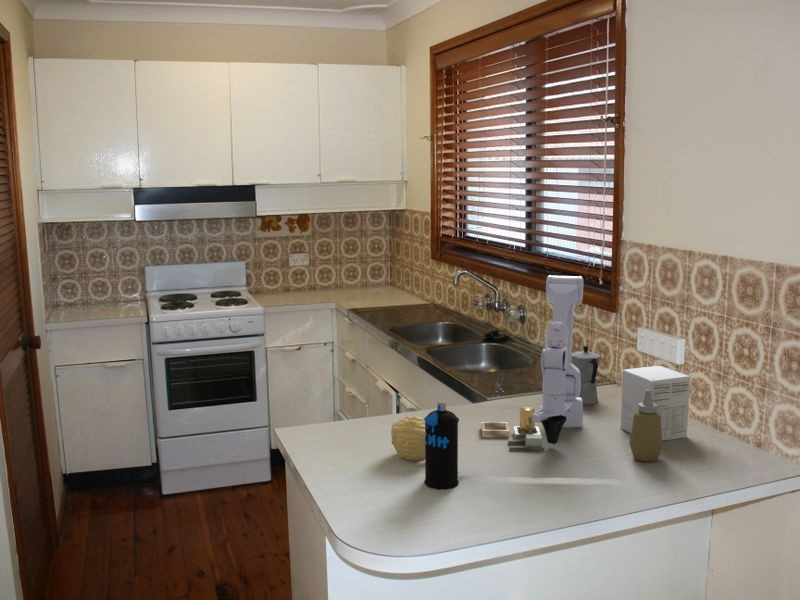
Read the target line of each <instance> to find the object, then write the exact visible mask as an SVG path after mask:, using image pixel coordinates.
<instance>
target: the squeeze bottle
mask: <svg viewBox="0 0 800 600" xmlns="http://www.w3.org/2000/svg"><path fill="white" fill-rule="evenodd" d="M629 446H630V449H631V453H632V457H633V459H635V460H637V461H638V462H643V461H644V462H645V463H654V462H657V460H658V458H659V456H660V454H661V452H662V449H663V441H662V430H661V416H660V414H659V413H658V412H657V405H656V404H654V403H653V400H652V394H651V391H650V390H646V393H645V396H644V400H643V402H641V403H639V404H638V411H636V412H635V413H634V418H633V424H632V431H631V433H630V438H629Z"/></svg>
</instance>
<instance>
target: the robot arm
mask: <svg viewBox="0 0 800 600" xmlns="http://www.w3.org/2000/svg"><path fill="white" fill-rule="evenodd" d="M545 281H546V283H545V284H546V285H545V295H546V297H547V300H548V301H549V303H550V304H552V322H551V323H550V324H548V326H547V328H546V329H547V330H546V337H545V344H544V348H542V350H541V355H540V366H541V376H542V393H541V394H542V397H541V398H542V400H541V403H542V404H541V405H540V406H539V408H538V409H539V410H538V411H537V412H536V411H535V414H533V422H535V423H537V424H539V423H541V425H542V426H543V428H544V433H545V436H546V441H547V443H548V444H551V445H556V444H558V441H559V437H560V434H561V432H562V428H563V429H564V428H583V422H584V421H583V420H584V405H583V401H582V398H581V397H578V396H579V395H580V388H581V378H580V370H579V369H578V368H577V367H576V366H574V365H573V364H572V357H571V354H572V353H573V352H572V350H573V347H572V346H573V329H574V328H573V326H574V311H575V309H576V306H580V305H582V302H583V299H584V298H583V297H584V278H583V276H581V275H579V276H573V275H571V276H570V275H552V274H549V275H548V276H547V277H546V280H545Z"/></svg>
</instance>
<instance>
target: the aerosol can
mask: <svg viewBox="0 0 800 600" xmlns="http://www.w3.org/2000/svg"><path fill="white" fill-rule="evenodd" d="M446 404H447V402H446V401H445V400H438V401H437V409H436V410H433V411H431V412H430V413H428V414H427V415H426V416H425V417H423V418H424V421H425V458H424V459H425V460H424V461H425V463H424V465H425V468H424V470H425V472H424V473H425V475H424V478H425V479H424V485H425V486H426V487H428V488H431V489H433V488H434V489H433V490H440V489H444V490H450V489H451V490H452V489H454V488H456V487H457V486H458V485H459V483H460V481H459V479H458V478H459V477H458V476H459V475H458V473H459V472H458V471H459V470H458V469H459V463H458V462H459V436H458V435H459V422H460V418H459V417H458V416H457V415H456V414H455V413H454V412H453V411H450V410H447V407H446V406H447V405H446Z"/></svg>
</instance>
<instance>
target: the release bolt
mask: <svg viewBox="0 0 800 600" xmlns="http://www.w3.org/2000/svg"><path fill="white" fill-rule="evenodd" d="M524 446H538V447H543V437H542V434H541V435H534V434H526V443H525V445H524Z"/></svg>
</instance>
